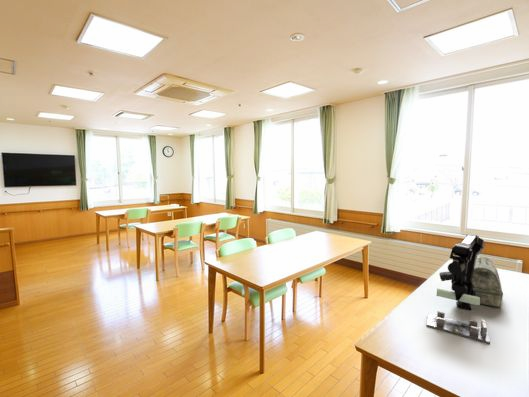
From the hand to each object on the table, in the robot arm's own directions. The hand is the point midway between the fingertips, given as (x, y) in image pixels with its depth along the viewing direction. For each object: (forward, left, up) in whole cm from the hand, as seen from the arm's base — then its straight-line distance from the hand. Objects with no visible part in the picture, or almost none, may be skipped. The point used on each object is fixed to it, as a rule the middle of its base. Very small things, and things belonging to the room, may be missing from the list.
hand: (457, 298), depth 141 cm
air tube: (0, 0, +1) cm, 1 cm away
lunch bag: (-34, +13, -10) cm, 38 cm away
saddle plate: (+13, 0, -10) cm, 16 cm away
